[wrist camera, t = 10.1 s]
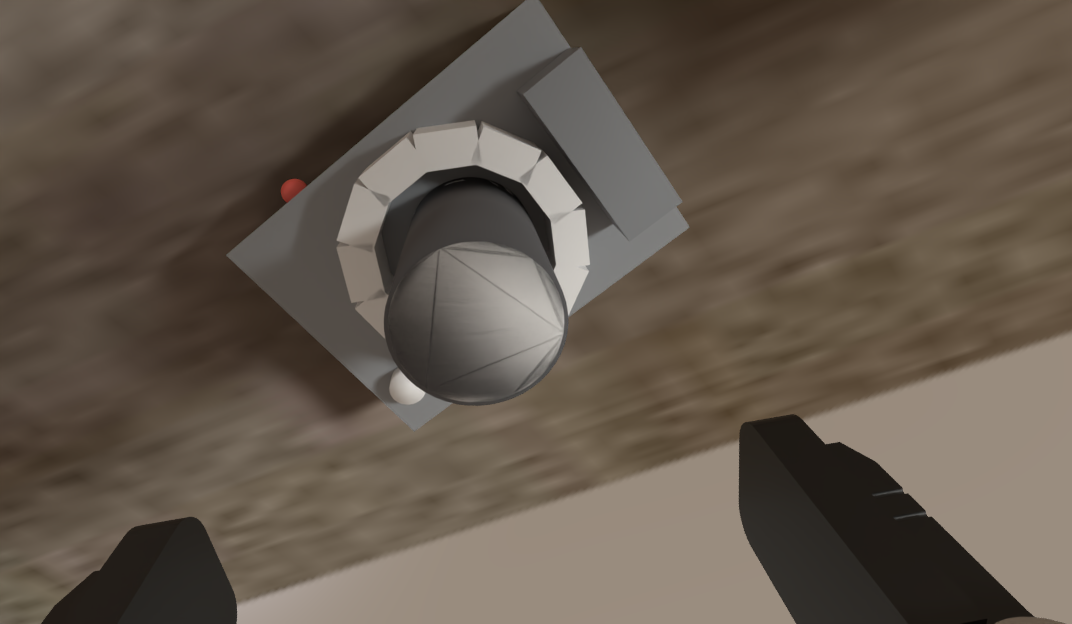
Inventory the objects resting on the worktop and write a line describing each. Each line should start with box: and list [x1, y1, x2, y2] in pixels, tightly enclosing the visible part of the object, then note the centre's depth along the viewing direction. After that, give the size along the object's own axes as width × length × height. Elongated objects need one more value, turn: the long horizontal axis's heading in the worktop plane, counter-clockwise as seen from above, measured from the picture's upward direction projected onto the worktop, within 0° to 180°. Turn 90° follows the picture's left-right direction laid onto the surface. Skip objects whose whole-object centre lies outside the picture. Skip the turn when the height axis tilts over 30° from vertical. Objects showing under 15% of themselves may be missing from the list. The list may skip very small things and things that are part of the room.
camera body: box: [226, 0, 689, 431], centre depth 23 cm, size 14×11×7 cm
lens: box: [384, 177, 568, 406], centre depth 19 cm, size 5×5×8 cm
